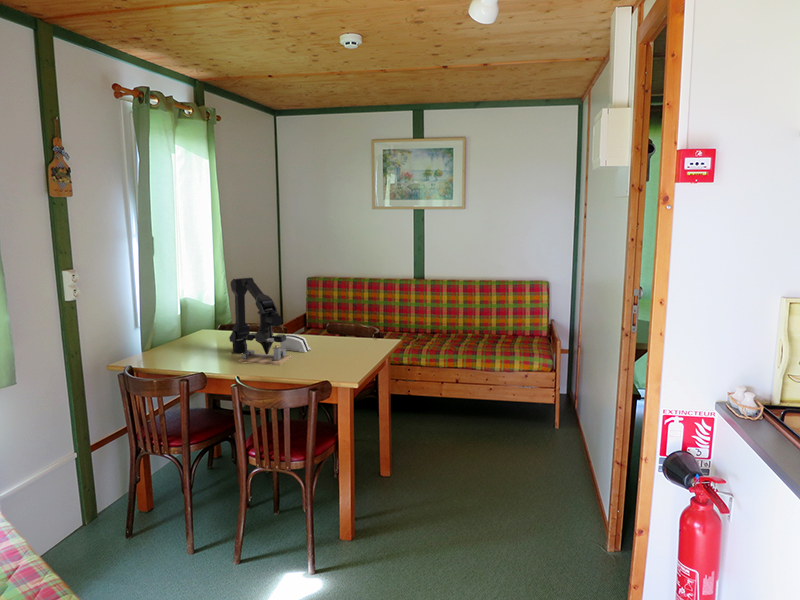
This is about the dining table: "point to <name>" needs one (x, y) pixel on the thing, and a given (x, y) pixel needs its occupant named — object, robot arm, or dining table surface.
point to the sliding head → (278, 352)
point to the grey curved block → (295, 343)
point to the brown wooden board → (264, 360)
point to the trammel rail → (256, 355)
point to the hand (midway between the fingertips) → (266, 354)
